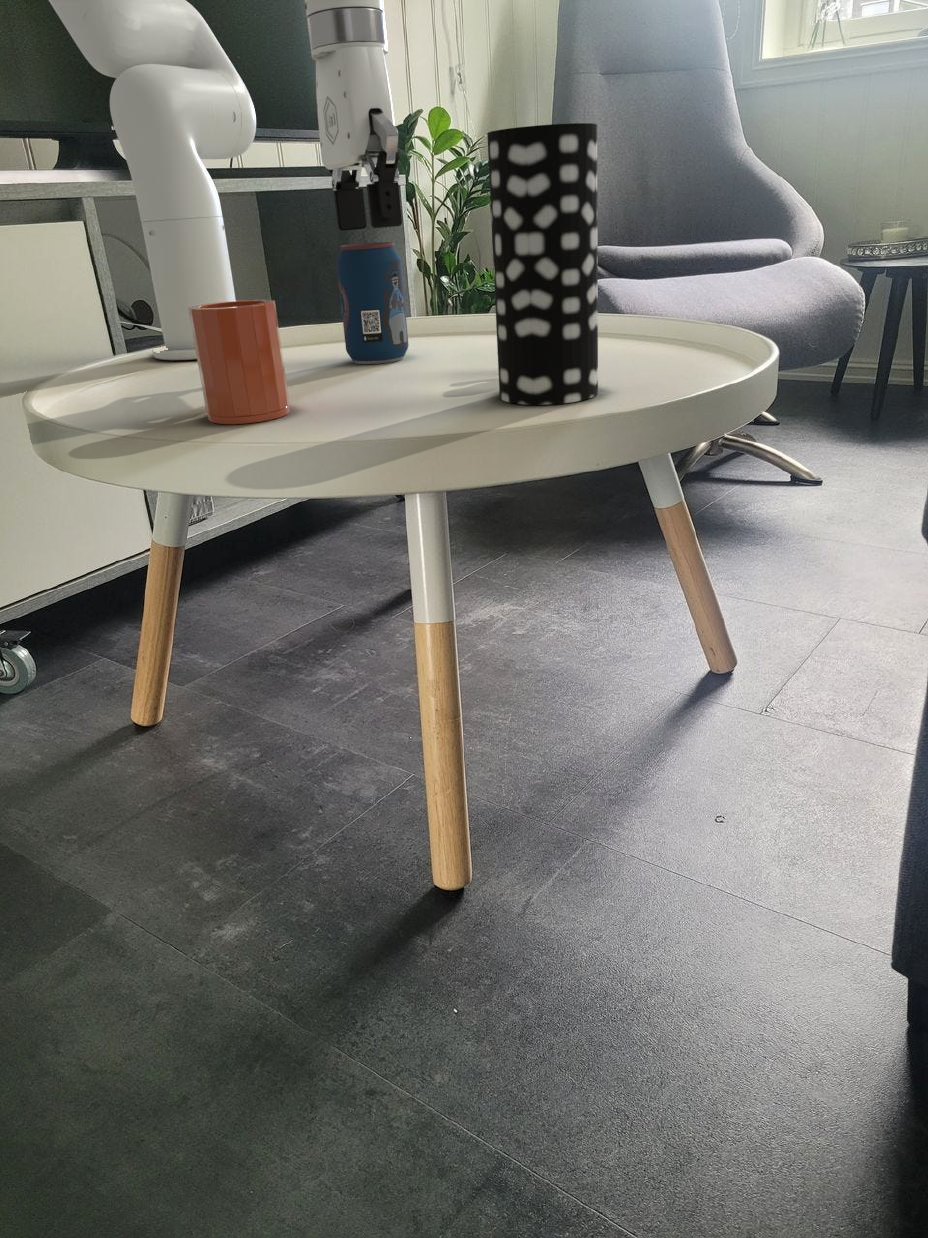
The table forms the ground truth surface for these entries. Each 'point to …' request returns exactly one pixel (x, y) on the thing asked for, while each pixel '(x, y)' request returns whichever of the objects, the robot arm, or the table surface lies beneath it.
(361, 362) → the soda can
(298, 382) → the table surface
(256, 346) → the coffee cup
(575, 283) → the spotted tube
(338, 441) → the table surface
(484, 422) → the table surface
